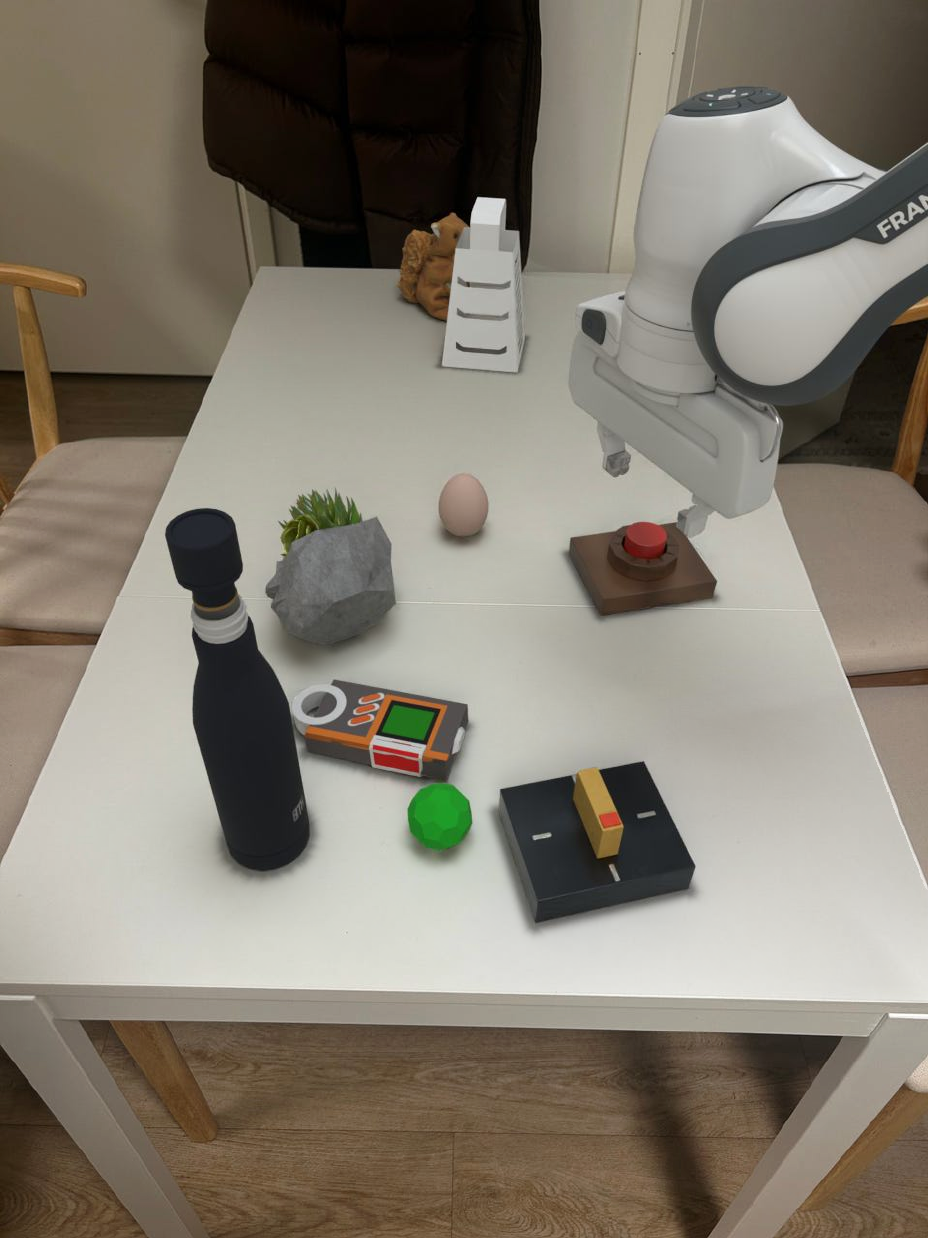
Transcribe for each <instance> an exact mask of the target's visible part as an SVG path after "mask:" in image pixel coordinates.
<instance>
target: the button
mask: <svg viewBox="0 0 928 1238" xmlns="http://www.w3.org/2000/svg"><path fill="white" fill-rule="evenodd" d="M629 525H630V526H629V527H628V528H627V530H626V536H625V543H624V547H625V550H626V551H627V552H628V553H629V554H630V555H632V556H634V557H637V558H642V559H655V558H658V557H660V556H661V555H662V554H663V552H664V548H665V543H666V539H667V534H666V532H665V530H664V529H663V528H662V527H660V526H659V525H660V524H656V523H655V522H650V521H638V522H633V523H632V524H629Z"/></svg>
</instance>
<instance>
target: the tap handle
mask: <svg viewBox="0 0 928 1238" xmlns="http://www.w3.org/2000/svg"><path fill="white" fill-rule="evenodd" d="M599 770H600V769H599V768H598V766H595V767H589V768H584V769H577V770H576V774H577V775H576V782H575V789H574V795H573V800H574V803H575V805H576V808H577V810H578V813H579V815H580V817H581V820H582V822H583V825H584V827H585V830H586V832H587V835H588V837H589V840H590V842H591V844H592V847H593V849H594V852H595V854H596V857H597V859H598V858H603V857H607V856H612V855H617V854H618V850H619V846H620V841H621V837H622V832H623V828H624V826H623V824H622V822H621V819H620V817H619V815H618V813H617V810H616V808H615V806H614V804H613V801H612V799H611V797H610V795H609V792H608V790H607V788H606V786H605V783H604V781H603V779H602V777H601V774H600V772H599Z"/></svg>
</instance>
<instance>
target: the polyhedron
mask: <svg viewBox="0 0 928 1238" xmlns="http://www.w3.org/2000/svg"><path fill="white" fill-rule="evenodd" d="M470 803H471V802H470V800H469V799H468V798H467V797H466V796H465V795H464V794H463V792H461V791H460V790H459V789H458V788H457V787H456V786H455V785H454V784H449V783H445V782H436V783H431V784H428V785H427V786H424V787H422V788H420V789H419V790H418V791H417V792H416V793H415V795H414V796H412V799H411V801H410V803H409V804H408V807H407V824H408V827H409V833H410V834H411V835H412V836H413V837H414V838H415V839H416V840H417V841H418V842H419V843H420V844H421V845H422V846H424V847H425V848H426V849H431V850H433V851H443V850H447V849H450V848H452V847H455V846H457V845H460V844H461V843H462V841H463V840H464V839H465V837H466V836H467V834H468V833H469V831H470V829H471V827H472V826H473V815H472V814H473V813H472V808H471V804H470Z"/></svg>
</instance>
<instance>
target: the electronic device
mask: <svg viewBox="0 0 928 1238" xmlns="http://www.w3.org/2000/svg"><path fill="white" fill-rule="evenodd" d="M291 703H292V704H291V712H292V716H293V720H294V723H295V727H296V729H297V731H298V732H299V733H300V734H302V735H303V736H304V741H305V744H306V750H307V752H308V753H313V754H316V755H317V754H318V755H321V756H322V755H323V756H326V757H332V758H335V759H336V758H337V759H341V760H346V761H352V762H356V763H361V764H365V765H371V767H372V768H374V769H379V770H384V771H389V772H392V773H398V774H404V775H408V776H414V777H418V778H421V777H423V776H425V777H429V778H433V779H437V780H444V781H447V780H448V778H449V774H450V772H451V770H452V767H453V764H454V761H455V759H456V757H457V754H458V752H460V751H461V748H462V745H463V742H464V739H465V735H466V734H465V733H466V730H467V726H468V724H469V705H468V703H464V702H458V701H452V700H447V699H441V698H437V697H431V696H427V695H426V696H425V695H419V694H415V693H411V692H410V693H409V692H404V691H399V690H393V689H388V688H383V687H378V686H373V685H372V686H371V685H366V684H361V683H357V682H351V681H345V680H340V679H333V680H332V682H331V683H330V684H328V683H327V684H326V683H324V684H323V683H322V684H320V683H319V684H314V685H311V686H308V687H306V688H304V689H302V690H301V691H299V693H298V694H296V696H295V697H294V698H293V701H292V702H291ZM315 708H317V709H316V711H315V713H314V715H313V716H309V715H307V714H308V713H309V712H310V711H312V710H313V709H315Z"/></svg>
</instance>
